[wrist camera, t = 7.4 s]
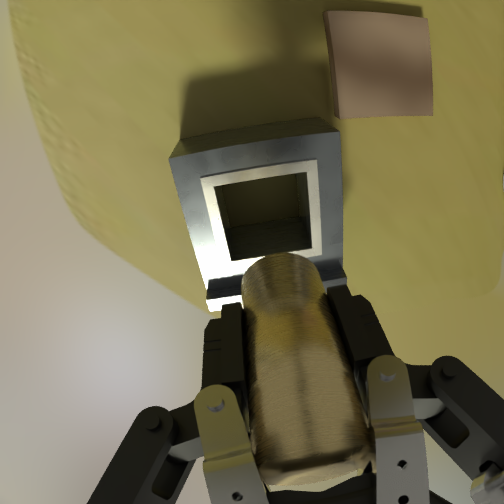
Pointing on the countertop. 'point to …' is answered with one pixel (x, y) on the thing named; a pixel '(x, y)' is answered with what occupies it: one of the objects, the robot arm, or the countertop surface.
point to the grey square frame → (267, 233)
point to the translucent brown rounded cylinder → (298, 376)
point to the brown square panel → (379, 64)
